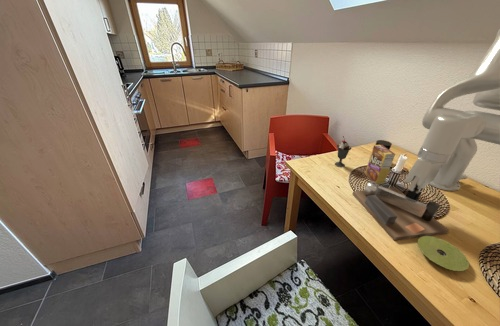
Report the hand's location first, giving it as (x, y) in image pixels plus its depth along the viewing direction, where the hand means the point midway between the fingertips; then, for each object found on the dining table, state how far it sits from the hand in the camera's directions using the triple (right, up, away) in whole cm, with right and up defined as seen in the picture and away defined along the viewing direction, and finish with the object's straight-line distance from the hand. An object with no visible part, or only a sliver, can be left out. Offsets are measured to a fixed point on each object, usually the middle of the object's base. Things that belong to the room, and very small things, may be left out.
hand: (410, 199), depth 73 cm
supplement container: (+9, +14, +34) cm, 38 cm away
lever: (-5, -2, +1) cm, 5 cm away
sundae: (-12, +12, +31) cm, 35 cm away
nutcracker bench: (-5, -5, +1) cm, 7 cm away
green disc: (-3, -14, -14) cm, 20 cm away
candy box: (-1, +6, +20) cm, 21 cm away
